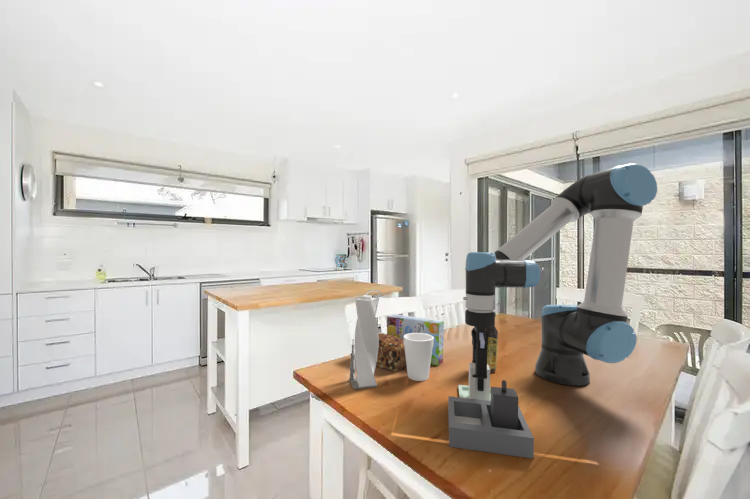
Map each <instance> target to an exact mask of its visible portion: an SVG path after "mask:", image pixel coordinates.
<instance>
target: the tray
mask: <svg viewBox="0 0 750 499" xmlns="http://www.w3.org/2000/svg"><path fill="white" fill-rule="evenodd" d="M457 388H458V395H459V396H458V397H461V398H469V385H464V384H458V385H457ZM490 401H491V387H490Z"/></svg>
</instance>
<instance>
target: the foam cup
mask: <svg viewBox="0 0 750 499" xmlns="http://www.w3.org/2000/svg"><path fill="white" fill-rule="evenodd" d="M403 344H404V348H405V356H406V365H407V367H406V371H407V372H406V373H407V377H408V379H410V380H413V381H418V382H424V381H427V380H428V379H429V376H430V370H431V364H430V363H431V356H432V349H433V346H434V337H433V336H431V335H429V334H424V333H409V334H406V335H404V343H403Z"/></svg>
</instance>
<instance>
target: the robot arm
mask: <svg viewBox="0 0 750 499" xmlns="http://www.w3.org/2000/svg"><path fill="white" fill-rule="evenodd" d="M657 194H658V183H657V180H656V177H655V175H654V174H653V173H652V172H651V170H650V169H648V168H647V167H646V166H644V165H642V164H639V163H627V164H623V165H622V164H621V165H616V166H614V167H612V168H609V169H605V170H601V171H597V172H595V173H594V172H593V173H590V174H587V175H585V176H583V177H581V178H579V179H578V180H576V181H575V182H572V184H570V185H569V186H568V187H566V188H565V189H564V190H563V191H561V192H560V193H559V194H558V195H557V196H555V197H554V198H553V199H552V200H551V202H550V204H551V205H550V206H549V207H547V208H546V209H545V210H544V211H543V212H541V213H540V214H539V215H538V216H537V217H535V218H534V219H533V220H531V221H530V222H529V223H527V225H526V226H524V227H523V228H522V229H521V230H519V231H518V232H517V233H516V234H515V235H513V236H511V238H510V239H509V240H508V241H506V242H505V243H504V244H502V245H501V246H500V247H499V248H498V249H496V250H495V251H494V252H493V251H492V252H491V251H490V252H484V251H483V252H482V251H477V252H476V251H473V252H472V251H471V252H468V253H467V255H466V259H465V267H464V270H465V296H463V297H462V300H463V301H465V309H466V310H465V313H464V322H465V324H466V325H468V326H469V327H472V329H471V331H470V332H471V333H470V334H471V345H472V359H471V363H475V375H473V374H472V376H473V377H475V381H474V399H479V400H486V379H487V347H488V333H487V331H486V330H485V328H487V327H493V326H494V325H496V316H495V313H496V312H495V310H496V289H497V288H514V289H515V288H516V289H517V288H518V289H519V288H522V289H526V288H534V287H537V285H538V284H539V282H540V279H541V268H540V266H539V264H538V263H537V262H536V261H535V260H532V259H526V258H528V257H529V256H531V255H532V254H533V253H534V252H535V251H536V250H538V249H539V248H540V247H541V246H542V245H544V244H545V243H546V242H547V241H549V239H551V238H552V237H553V236H555V235H556V234H557V233H558V232H559V231H560V230H562V229H563V228H564V227H565V226H566V225H568V224H569V223H574V222H576V221H578V220H579V219H580V218H582V217H583V216H586V215H588V214H589V215H590V216H592V217H593V218H594V220H595V222H594V227H593V228H594V230H593V236H592V242H591V243H592V244H591V250H590V251H591V252H590V257H589V265H588V271H587V279H586V286H585V293H584V300H583V302H581V303H580V304H546V305H544V306H543V307H542V310H541V315H540V316H541V317H540V318H541V349H540V352H539V355H538V357H537V360H536V362H535V365H534V366H535V368H534V370H535V372H534V373H535V374H536V375H537V376H539V377H540V378H542V379H544V380H546V381H549V382H552V383H555V384H560V385H566V386H573V387H574V386H576V387H577V386H579V387H580V386H586V385H589V384H590V381H591V380H590V379H591V375H590V371H589V368H588V366H587V362H586V360H585V356H588V357H590V358H591V359H593V360H595V361H599V362H603V363H606V364H618V363H620V362H622V361H625V359H627V358H629V356H631V355H632V353H634V352H633V351H634V350H635V348H636V344H637V340H638V339H637V334H636V332H635V329H634V328H633V326H632V325H630V324H629V323H628V318H629V314H627V312H626V311H625V310H624V309H623V300H624V298H623V297H624V292H625V284H626V278H627V271H628V263H629V258H630V248H631V243H632V236H633V235H632V234H633V228H634V227H633V226H634V222H635V221H636V220H637V219H639V218H640V217H642V215H643V208H644V206H647V205H648V204H650V203H651V202H652V201H653V200H655V198H656V197H657ZM494 312H495V313H494ZM584 355H585V356H584Z"/></svg>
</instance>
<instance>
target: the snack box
mask: <svg viewBox="0 0 750 499" xmlns="http://www.w3.org/2000/svg"><path fill="white" fill-rule="evenodd" d="M386 318H387V319H386V334H389V335H393V336H396V337H398V338H400V339H402V340H404V335H406V334H409V333H424V334H429V335H431V336H433V337H434V346H433V349H432V356H431V363H430V365H432V366H439V365H441V364H442V363H444V341H445V340H444V338H445V337H444V336H445V335H444V334H445V332H444V331H445V330H444V327H445V321H444V320H439V319H432V318H425V317H418V316H417V317H416V316H412V315H411V316H409V315H402V314H394V313H393V314H390V315H387V316H386Z"/></svg>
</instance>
